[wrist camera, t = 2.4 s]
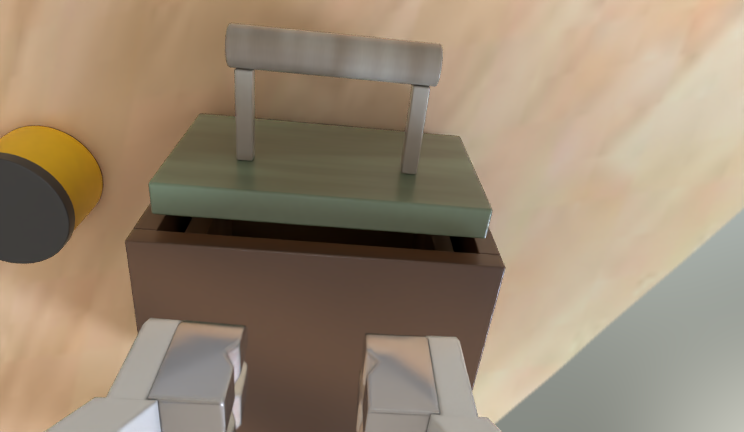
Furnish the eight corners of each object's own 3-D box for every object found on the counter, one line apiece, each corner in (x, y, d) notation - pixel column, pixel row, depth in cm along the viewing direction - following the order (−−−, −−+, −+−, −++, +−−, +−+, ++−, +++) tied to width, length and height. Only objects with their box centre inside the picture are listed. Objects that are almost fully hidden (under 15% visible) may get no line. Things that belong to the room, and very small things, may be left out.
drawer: (193, -4, 21) (130, 32, 15) (481, 25, 22) (527, 71, 16) (211, 347, 30) (177, 455, 24) (416, 359, 31) (431, 466, 25)
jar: (97, 128, 25) (57, 162, 21) (111, 223, 27) (78, 267, 24) (-19, 118, 24) (-78, 152, 21) (6, 216, 27) (-43, 259, 24)
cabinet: (192, 140, 25) (124, 240, 18) (463, 163, 26) (506, 267, 19) (206, 372, 32) (162, 513, 25) (418, 383, 33) (437, 522, 26)
